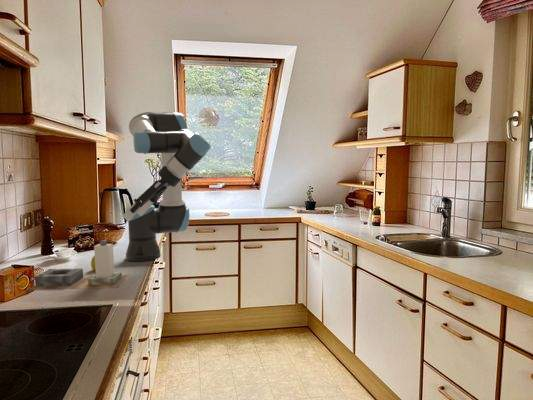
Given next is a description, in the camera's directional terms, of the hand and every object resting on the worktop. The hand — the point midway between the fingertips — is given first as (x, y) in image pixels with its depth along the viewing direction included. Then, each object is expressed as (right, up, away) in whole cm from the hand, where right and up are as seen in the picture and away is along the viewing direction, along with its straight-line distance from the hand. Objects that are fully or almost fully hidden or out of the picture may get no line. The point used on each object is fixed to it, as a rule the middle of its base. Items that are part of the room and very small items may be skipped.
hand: (132, 216), depth 146 cm
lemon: (-19, -23, +19) cm, 35 cm away
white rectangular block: (-10, -23, +2) cm, 25 cm away
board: (-18, -25, +2) cm, 31 cm away
